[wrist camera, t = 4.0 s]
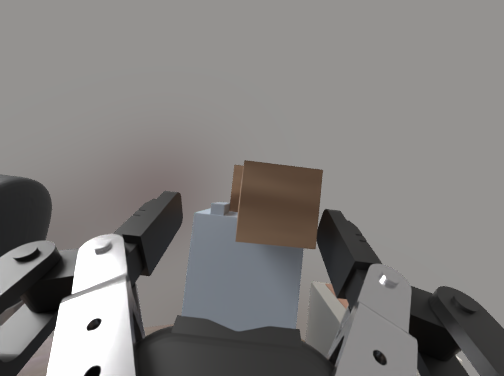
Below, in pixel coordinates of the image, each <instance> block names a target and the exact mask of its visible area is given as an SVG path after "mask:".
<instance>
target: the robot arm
mask: <svg viewBox="0 0 504 376" xmlns="http://www.w3.org/2000/svg"><path fill="white" fill-rule="evenodd" d="M51 211H52V203H51V198H50V194H49V192H48V191H47V189H46V188H45V187H44V186H43V185H42V184H41V183H39V182H37V181H35V180H32V179H28V178H23V177H16V176H8V175H0V376H16V375H17V374H18V373H19V372H20V370H21V369H22V368H23V367H24V365H25V364H26V363H27V362H28V361H29V359H30V358H31V357H32V356H33V354H34V353H35V352H36V351H37V350H38V348H39V347H40V346H41V345H42V344H43V342H44V341H45V340H46V339H47V337H48V336H49V335H50V334H51V333H52V331H53V330H54V329H55V328H56V330H55V335H54V340H53V346H52V351H51V356H50V362H49V367H48V372H47V376H417V370H418V372H419V374H420V376H469V375H468V373H467V372H466V370H465V369H464V368H463V366H462V365H461V363H460V362H459V360H458V359H457V357H456V356H455V355H456V354H457V353H458V352H460V351H461V350H462V351H463V353H464V354H465V355H466V357H467V358H468V360H469V361H470V362H471V364H472V365H473V367H474V368H475V369H476V370H477V372H478V373H479V375H480V376H504V329H503V328H502V327H501V325H500V324H499V323H498V322H497V321H496V320H495V319H494V318H493V317H492V316H491V315H490V314H489V313H488V312H487V311H486V310H485V309H484V308H483V307H482V306H481V305H480V304H479V303H478V302H476V301H475V300H474V299H472V298H471V297H469V296H468V295H466V294H464V293H463V292H461V291H458V290H456V289H453V288H450V287H445V286H443V287H439V288H438V289H437V290H436V291H435V292H434V293H433V294H432V293H429V292H426V291H424V290H421V289H418V288H415V287H412V286H410V284H409V282H408V281H407V280H406V279H405V277H404V276H403V275H401V274H400V273H399V272H398V271H396V270H394V269H393V268H391V267H389V266H386V265H383V264H382V263H381V261H380V260H379V258H378V257H377V255H376V254H375V252H374V251H373V250H372V248H371V247H370V245H369V244H368V243H367V242H366V239H365V238H364V237H363V236H362V233H361V232H360V231H359V229H358V228H357V227H356V226H355V225H354V224H353V223H351V222H350V221H347V220H346V219H345V217H344V216H343V214H342V213H341V211H337V210H329V209H325V210H324V212H323V215H322V217H321V221H320V223H319V227H318V230H317V238H316V239H317V244H318V247H319V249H320V252H321V255H322V258H323V261H324V263H325V266H326V269H327V272H328V275H329V278H330V281H331V284H332V287H333V289H334V292H335V295H336V298H339V299H347V302H348V304H349V305H348V306H347V308H346V311H345V313H344V316H343V318H342V321H341V323H340V326H339V328H338V331H337V333H336V336H335V339H334V341H333V344H332V346H331V348H330V350H329V352H328V354H327V356H326V357H325V356H324V355H323V354H321V353H320V352H319V351H318V350H316V349H315V348H314V347H312V346H311V345H309V344H307V343H305V342H303V341H301V337H300V330H299V329H292V328H283V327H275V326H266V327H261V328H255V329H250V330H245V331H234V330H232V329H230V328H227V327H225V326H223V325H220V324H218V323H216V322H214V321H211V320H209V319H205V318H196V317H187V316H179V315H178V316H177V318H176V321H175V323H174V326H170V327H167V328H163V329H160V330H158V331H156V332H153V333H152V334H150V335H148V336H145V331H144V327H143V322H142V316H141V310H140V304H139V297H138V290H137V284H136V280H137V279H138V277H139V276H140V275H145V276H150V275H151V274H152V272H153V270H154V268H155V267H156V265H157V264H158V262H159V260H160V259H161V257H162V256H163V254H164V252H165V251H166V249H167V247H168V246H169V244H170V243H171V241H172V239H173V238H174V236H175V234H176V233H177V231H178V230H179V228H180V226H181V223H182V219H183V213H182V202H181V195H180V193H178V192H170V191H164V192H163V193H162V194H161V195H160V196H159V197H158V198H157V199H153V200H151V201H149V202H147V203H145V204H144V205H143V206H142V207H141V208H139V210H138V211H136V212H135V213H134V214H133V216H131V217H130V218H129V219H128V220H127V221H126V222H125V223H124V224H123V225H122V226H121V227H120V228H118V229H117V230H116V231H115V232H114V233H113V234H106V235H101V236H98V237H96V238H94V239H91V240H90V241H88V242H86V243H85V244H84V245H83V246H82V247H81V248H77V249H70V250H60V251H58V250H57V248H56V246H55V244H54V243H53V242H51V241H45V240H46V236H47V232H48V228H49V224H50V219H51Z"/></svg>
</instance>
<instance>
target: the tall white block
mask: <svg viewBox="0 0 504 376" xmlns="http://www.w3.org/2000/svg"><path fill="white" fill-rule="evenodd" d="M348 305H349V304H348V302H347V299H339V298H336V295H335V292H334V289H333V287H332V284H331V283H322V282H313V281H312V282H311V288H310V298H309V308H308V320H307V330H306V340H305V343H307V344H309V345H311V346H312V347H314V348H315V349H316V350H318V351H319V352H320V353H321V354H323V355H324V356H325V357H326V356H327V354H328V352H329V350H330V348H331V346H332V344H333V341H334V339H335V336H336V333H337V331H338V328H339V326H340V323H341V321H342V318H343V316H344V313H345V311H346V308H347V306H348ZM455 356H456V355H455ZM456 357H457V356H456ZM457 359H458V360H459V362H460V363H461V365H462V363H463V361H462V360H461V359H460V358H459V357H457ZM417 376H420V374H419V372H418V370H417Z"/></svg>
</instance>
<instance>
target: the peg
mask: <svg viewBox="0 0 504 376" xmlns="http://www.w3.org/2000/svg"><path fill="white" fill-rule="evenodd" d="M322 173H323V170H319V169H311V168H303V167H295V166H287V165H278V164H270V163H262V162H254V161H246V160H245V161H244V166H241V165H234V174H233V183H232V192H231V200H230V209H229V212H238V215H237V228H236V240H235V242H244V243H254V244H265V245H275V246H286V247H296V248H307V249H315V248H316V238H317V227H318V216H319V205H320V195H321V184H322Z"/></svg>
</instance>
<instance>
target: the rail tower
mask: <svg viewBox="0 0 504 376" xmlns="http://www.w3.org/2000/svg"><path fill="white" fill-rule="evenodd" d="M229 209H230V203H224V202H217V203H212V204H211V208H210V209H207V210H203V211H199V212H195V213H194V221H193V228H192V236H191V244H190V252H189V260H188V268H187V276H186V284H185V292H184V300H183V308H182V316H187V317H196V318H205V319H209V320H211V321H214V322H216V323H218V324H220V325H223V326H225V327H227V328H230V329H232V330H234V331H245V330H250V329H255V328H261V327H266V326H275V327H283V328H292V329H296V320H297V311H298V300H299V290H300V279H301V269H302V258H303V248H296V247H286V246H275V245H265V244H254V243H244V242H235V240H236V228H237V215H238V212H229Z"/></svg>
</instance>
